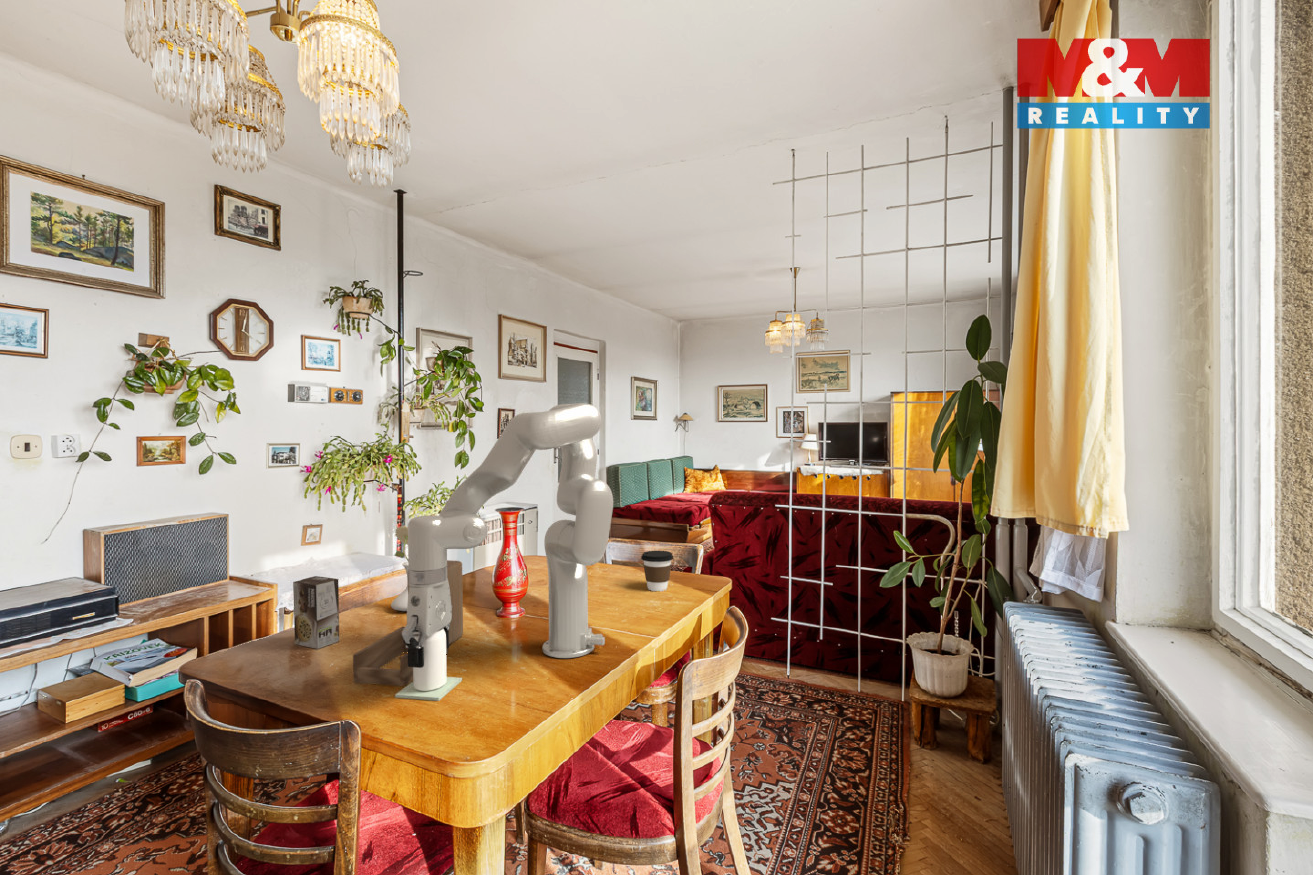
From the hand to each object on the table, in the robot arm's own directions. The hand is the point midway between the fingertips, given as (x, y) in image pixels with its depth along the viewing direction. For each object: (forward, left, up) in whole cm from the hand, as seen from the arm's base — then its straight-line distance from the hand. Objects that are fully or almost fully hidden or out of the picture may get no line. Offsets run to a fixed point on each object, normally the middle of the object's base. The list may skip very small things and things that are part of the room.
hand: (429, 657), depth 123 cm
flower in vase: (+36, -50, -7) cm, 62 cm away
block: (+13, -25, -7) cm, 29 cm away
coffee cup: (-35, -81, -7) cm, 89 cm away
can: (0, 0, -6) cm, 6 cm away
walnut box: (+12, -9, -7) cm, 17 cm away
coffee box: (+43, -20, -7) cm, 48 cm away
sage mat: (0, 0, -7) cm, 7 cm away
